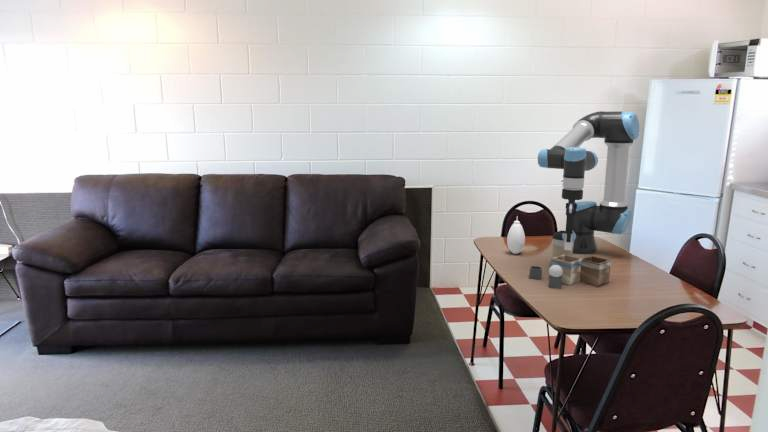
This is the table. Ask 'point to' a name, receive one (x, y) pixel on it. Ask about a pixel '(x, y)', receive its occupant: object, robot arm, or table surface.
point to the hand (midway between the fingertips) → (568, 248)
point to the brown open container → (595, 271)
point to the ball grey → (555, 271)
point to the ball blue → (572, 238)
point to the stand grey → (554, 282)
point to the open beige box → (568, 268)
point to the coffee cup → (560, 245)
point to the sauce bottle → (516, 237)
